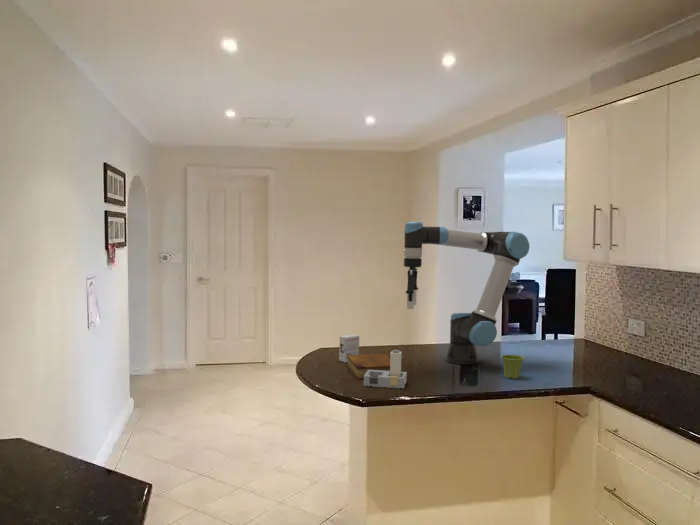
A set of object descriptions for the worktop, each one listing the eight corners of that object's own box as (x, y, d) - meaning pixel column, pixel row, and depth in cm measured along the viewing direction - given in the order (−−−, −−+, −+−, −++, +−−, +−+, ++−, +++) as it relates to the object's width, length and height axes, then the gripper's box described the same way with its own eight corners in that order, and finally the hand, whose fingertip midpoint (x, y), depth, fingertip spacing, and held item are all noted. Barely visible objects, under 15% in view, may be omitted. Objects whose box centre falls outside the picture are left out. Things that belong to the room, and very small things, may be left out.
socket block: (406, 381, 247) (406, 371, 247) (403, 388, 236) (404, 378, 236) (368, 379, 250) (368, 369, 250) (363, 386, 239) (363, 375, 239)
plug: (400, 381, 244) (401, 349, 243) (399, 383, 240) (400, 351, 240) (390, 380, 245) (391, 349, 244) (389, 382, 241) (390, 351, 240)
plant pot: (495, 375, 260) (496, 355, 260) (513, 373, 264) (514, 353, 264) (509, 380, 252) (510, 360, 251) (527, 378, 256) (528, 358, 255)
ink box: (352, 358, 288) (353, 334, 287) (359, 360, 284) (360, 335, 283) (338, 360, 283) (338, 335, 282) (345, 363, 279) (345, 337, 278)
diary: (400, 379, 254) (401, 365, 253) (357, 380, 250) (357, 367, 250) (386, 365, 276) (386, 353, 276) (346, 367, 273) (346, 354, 272)
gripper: (406, 256, 273) (405, 302, 274) (401, 259, 248) (399, 310, 250) (423, 256, 271) (422, 303, 273) (419, 259, 247) (418, 311, 248)
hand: (411, 306), depth 261 cm, fingers open, 13 cm apart
